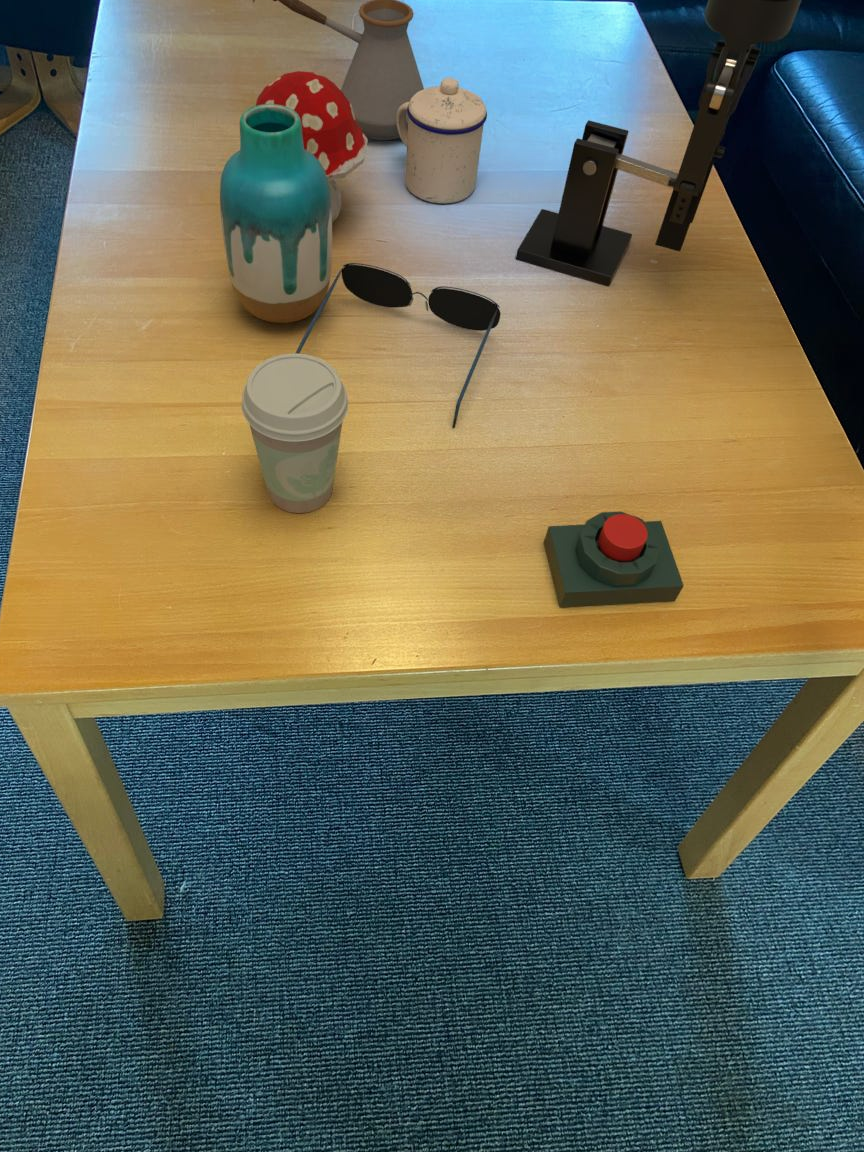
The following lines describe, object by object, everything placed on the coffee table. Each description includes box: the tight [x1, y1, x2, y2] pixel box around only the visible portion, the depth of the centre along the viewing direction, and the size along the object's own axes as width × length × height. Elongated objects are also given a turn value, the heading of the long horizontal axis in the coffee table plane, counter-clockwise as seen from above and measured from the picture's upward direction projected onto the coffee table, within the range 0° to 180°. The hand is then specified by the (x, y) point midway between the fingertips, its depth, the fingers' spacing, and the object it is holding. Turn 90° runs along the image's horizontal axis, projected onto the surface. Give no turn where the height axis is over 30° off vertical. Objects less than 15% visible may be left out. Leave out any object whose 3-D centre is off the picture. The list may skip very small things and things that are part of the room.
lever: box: [587, 134, 678, 189], centre depth 88 cm, size 12×5×2 cm, turn 66°
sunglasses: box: [295, 262, 501, 429], centre depth 86 cm, size 17×15×5 cm
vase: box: [219, 104, 333, 324], centre depth 83 cm, size 11×11×19 cm
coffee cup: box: [241, 352, 349, 514], centre depth 72 cm, size 8×8×12 cm
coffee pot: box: [252, 0, 425, 141], centre depth 105 cm, size 21×12×15 cm, turn 89°
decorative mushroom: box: [254, 70, 369, 224], centre depth 93 cm, size 14×14×15 cm
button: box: [598, 514, 648, 561], centre depth 70 cm, size 4×4×2 cm
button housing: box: [543, 511, 685, 608], centre depth 72 cm, size 10×7×4 cm
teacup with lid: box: [396, 77, 488, 204], centre depth 100 cm, size 12×9×12 cm
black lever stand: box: [515, 120, 633, 287], centre depth 93 cm, size 11×9×13 cm
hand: (674, 231), depth 92 cm, fingers closed on lever, 5 cm apart
